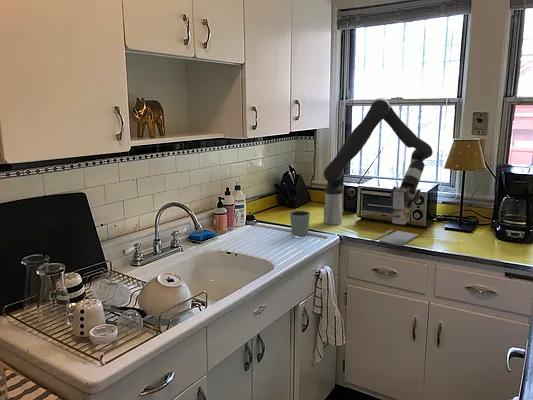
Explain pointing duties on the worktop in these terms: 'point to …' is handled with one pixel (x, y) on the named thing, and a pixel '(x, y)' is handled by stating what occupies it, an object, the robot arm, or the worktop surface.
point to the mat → (399, 238)
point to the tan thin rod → (382, 235)
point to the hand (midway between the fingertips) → (400, 206)
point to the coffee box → (401, 206)
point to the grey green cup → (300, 223)
